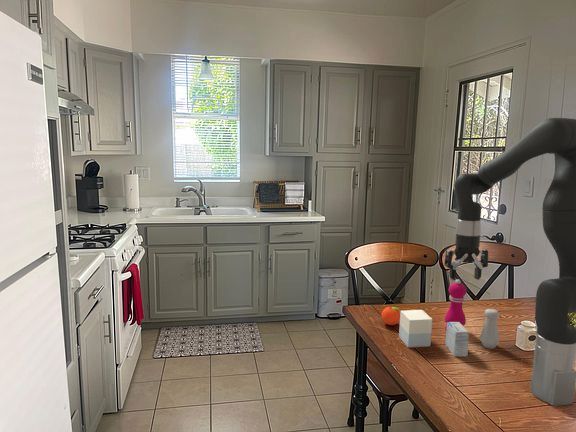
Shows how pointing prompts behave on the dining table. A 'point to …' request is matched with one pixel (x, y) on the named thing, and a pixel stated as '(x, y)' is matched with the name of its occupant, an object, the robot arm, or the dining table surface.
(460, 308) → the pepper mill
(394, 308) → the clementine
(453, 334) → the medicine box
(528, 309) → the dining table surface
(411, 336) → the tower base
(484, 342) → the salt shaker
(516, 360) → the dining table surface
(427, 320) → the tower top
